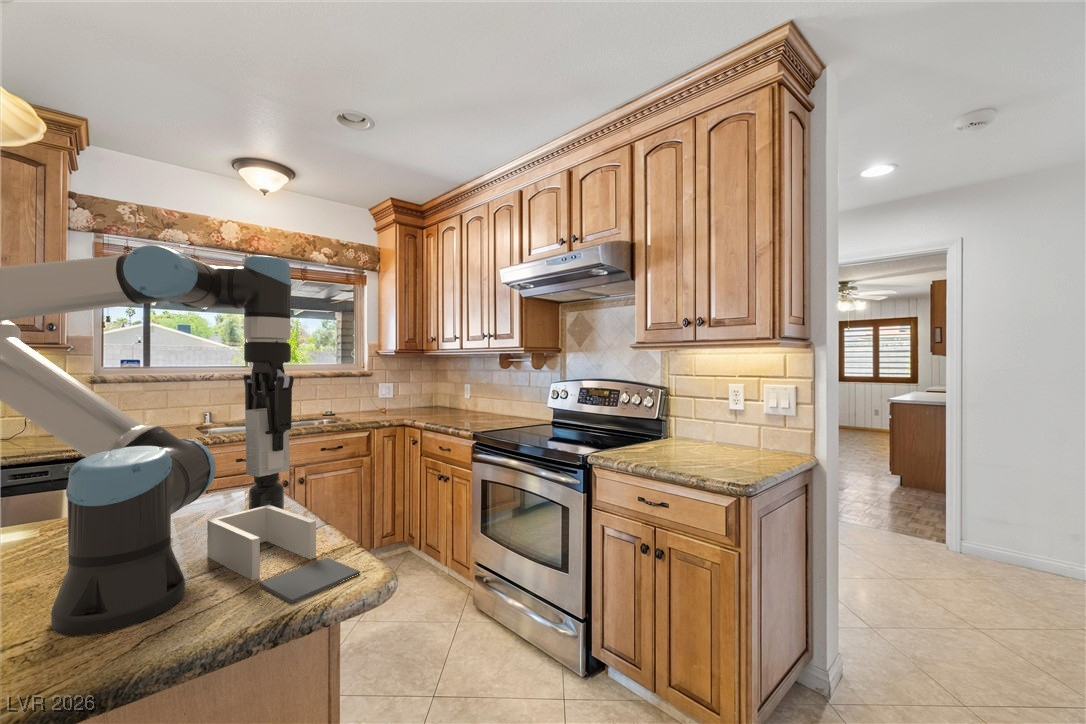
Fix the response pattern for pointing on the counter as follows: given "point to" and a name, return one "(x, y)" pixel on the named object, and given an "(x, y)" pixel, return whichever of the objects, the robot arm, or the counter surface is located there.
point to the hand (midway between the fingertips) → (267, 466)
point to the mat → (308, 579)
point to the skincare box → (261, 444)
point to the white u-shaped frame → (258, 537)
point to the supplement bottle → (266, 492)
